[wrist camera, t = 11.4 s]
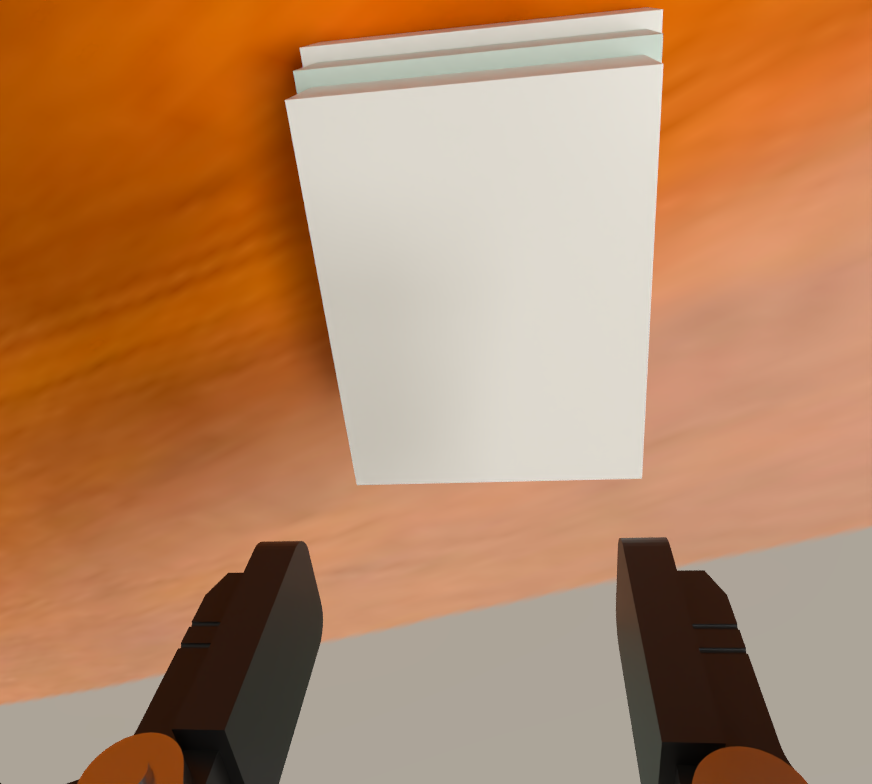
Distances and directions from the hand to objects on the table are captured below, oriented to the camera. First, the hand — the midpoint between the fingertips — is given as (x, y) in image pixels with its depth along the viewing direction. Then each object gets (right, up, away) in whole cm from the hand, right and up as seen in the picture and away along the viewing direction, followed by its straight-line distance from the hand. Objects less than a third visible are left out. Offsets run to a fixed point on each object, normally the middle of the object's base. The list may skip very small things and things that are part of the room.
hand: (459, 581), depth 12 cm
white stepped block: (+2, +10, +18) cm, 21 cm away
